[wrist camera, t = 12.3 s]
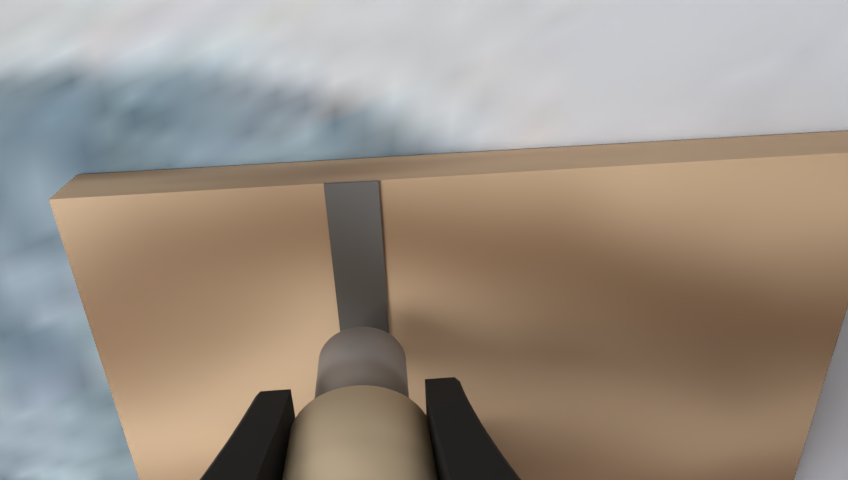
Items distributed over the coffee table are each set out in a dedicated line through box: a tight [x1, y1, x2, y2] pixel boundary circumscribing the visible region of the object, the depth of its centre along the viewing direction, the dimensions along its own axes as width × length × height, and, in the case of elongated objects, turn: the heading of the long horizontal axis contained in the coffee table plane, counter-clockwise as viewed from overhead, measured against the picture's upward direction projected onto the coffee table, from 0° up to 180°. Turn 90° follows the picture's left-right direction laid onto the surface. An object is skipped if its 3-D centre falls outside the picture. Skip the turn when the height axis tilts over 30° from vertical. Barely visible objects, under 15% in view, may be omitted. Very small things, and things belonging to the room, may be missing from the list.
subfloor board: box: [49, 131, 848, 480], centre depth 20 cm, size 20×19×2 cm
